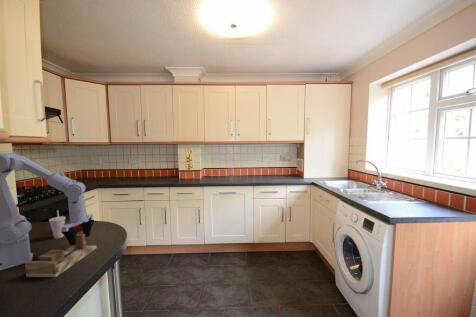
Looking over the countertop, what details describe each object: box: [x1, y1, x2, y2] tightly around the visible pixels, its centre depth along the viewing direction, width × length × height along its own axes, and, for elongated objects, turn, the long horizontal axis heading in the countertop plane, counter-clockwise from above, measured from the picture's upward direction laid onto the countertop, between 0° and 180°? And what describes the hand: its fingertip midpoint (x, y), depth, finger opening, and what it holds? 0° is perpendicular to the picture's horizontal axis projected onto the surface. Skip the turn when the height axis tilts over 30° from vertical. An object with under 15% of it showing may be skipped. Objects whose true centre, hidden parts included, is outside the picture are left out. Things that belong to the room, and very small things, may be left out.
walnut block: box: [37, 233, 87, 264], centre depth 83 cm, size 17×5×6 cm, turn 178°
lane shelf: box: [24, 245, 98, 278], centre depth 83 cm, size 20×11×5 cm, turn 178°
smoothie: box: [48, 209, 66, 239], centre depth 105 cm, size 6×6×14 cm
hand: (80, 240), depth 91 cm, fingers open, 7 cm apart
